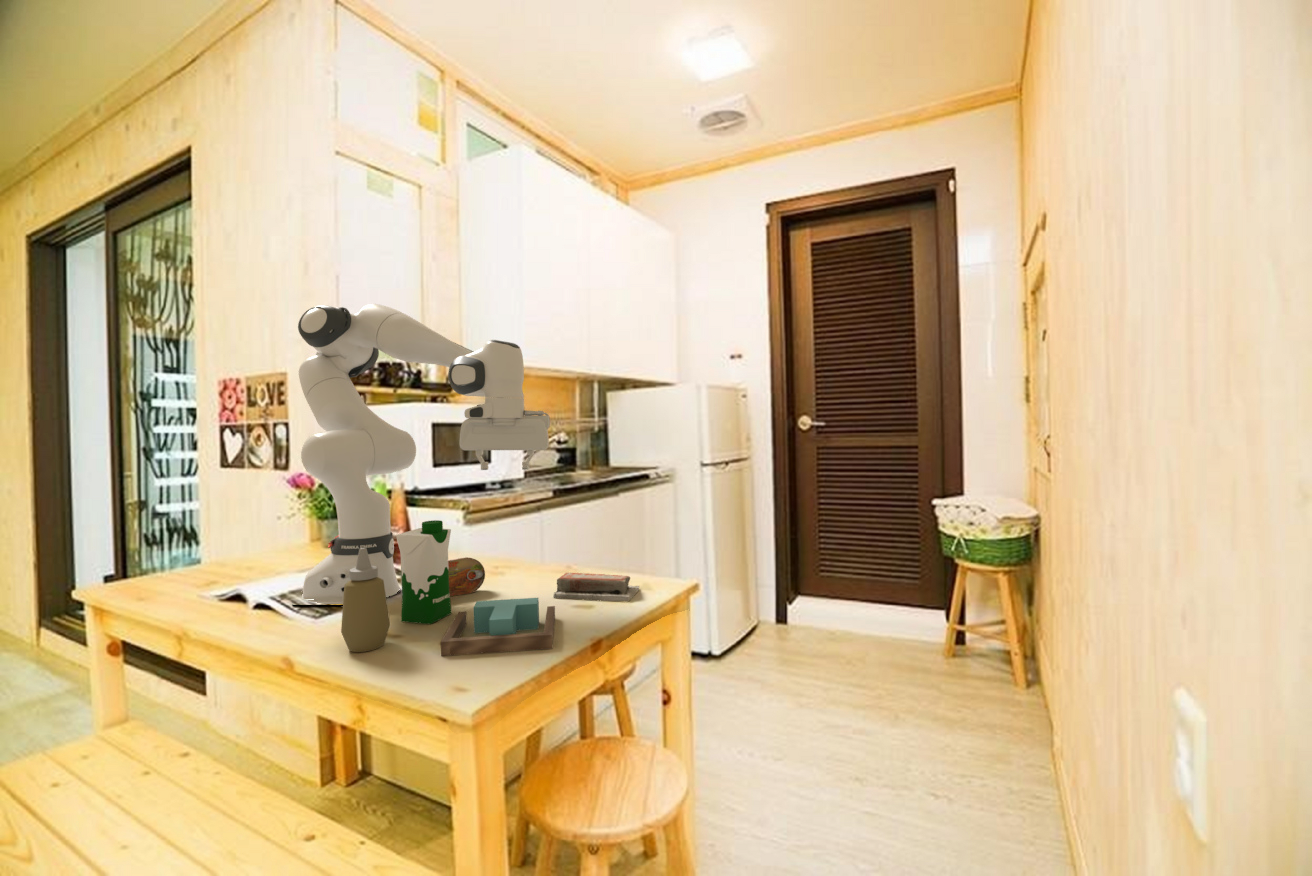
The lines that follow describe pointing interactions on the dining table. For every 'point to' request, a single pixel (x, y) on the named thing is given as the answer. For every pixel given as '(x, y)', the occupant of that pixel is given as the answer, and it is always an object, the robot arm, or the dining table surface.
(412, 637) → the dining table surface
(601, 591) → the packaged product
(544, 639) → the walnut dock
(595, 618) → the dining table surface
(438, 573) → the milk carton
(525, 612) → the teal T block
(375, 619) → the squeeze bottle
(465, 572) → the tin
